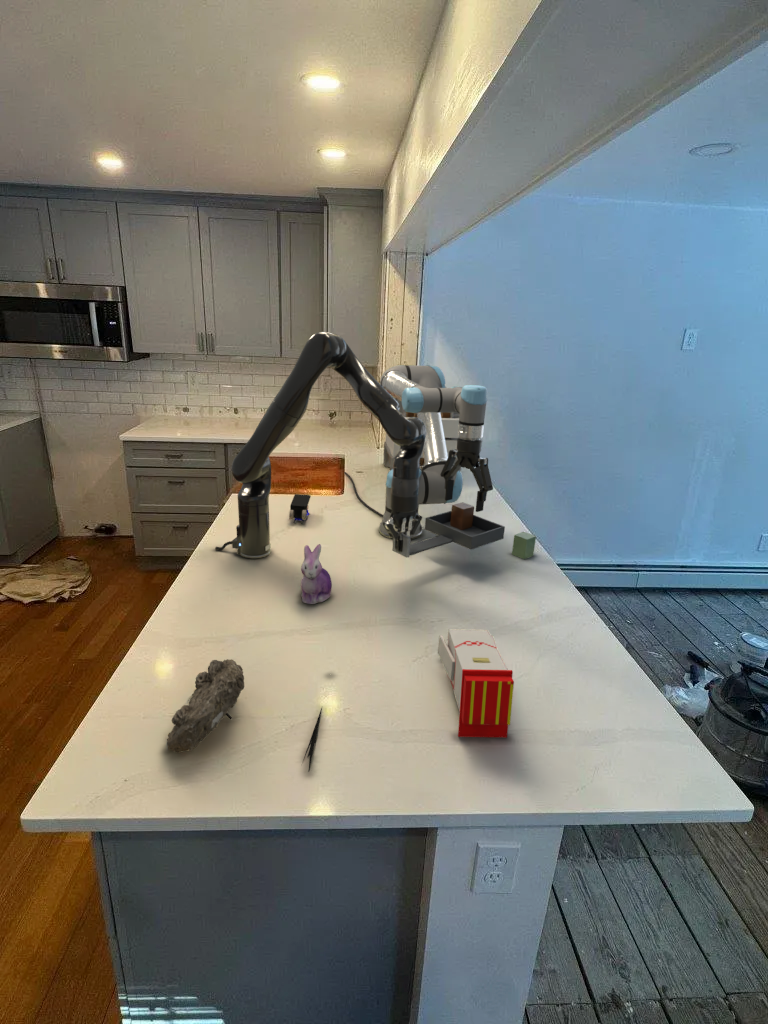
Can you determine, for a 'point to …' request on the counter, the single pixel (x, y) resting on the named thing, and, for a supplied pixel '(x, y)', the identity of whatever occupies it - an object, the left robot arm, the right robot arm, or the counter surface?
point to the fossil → (206, 705)
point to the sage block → (523, 545)
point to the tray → (453, 534)
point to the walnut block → (462, 516)
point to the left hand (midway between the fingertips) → (401, 550)
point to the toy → (478, 682)
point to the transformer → (392, 449)
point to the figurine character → (299, 507)
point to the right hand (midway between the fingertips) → (463, 505)
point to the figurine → (314, 578)
